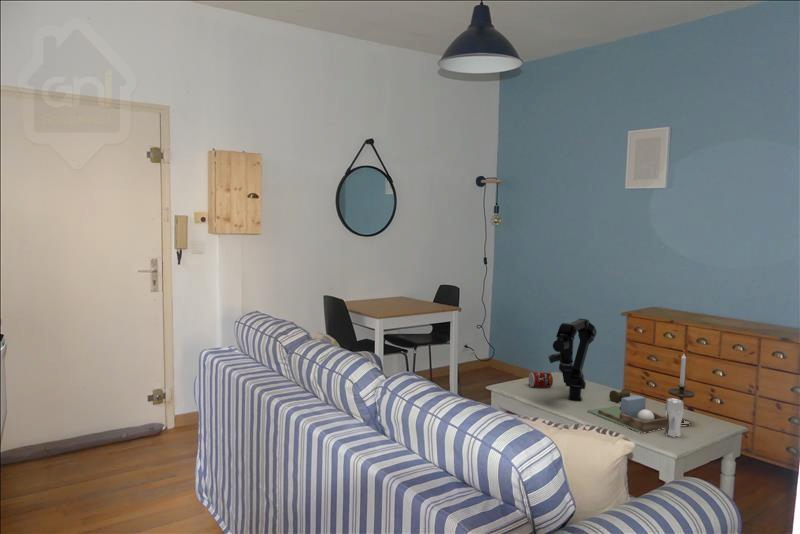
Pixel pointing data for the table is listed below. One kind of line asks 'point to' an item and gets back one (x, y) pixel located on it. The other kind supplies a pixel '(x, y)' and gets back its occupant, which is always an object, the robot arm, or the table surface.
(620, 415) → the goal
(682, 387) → the candlestick
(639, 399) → the block
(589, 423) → the table surface
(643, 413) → the ball
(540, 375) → the canned food
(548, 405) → the table surface
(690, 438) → the table surface
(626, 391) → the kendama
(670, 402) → the beer glass
